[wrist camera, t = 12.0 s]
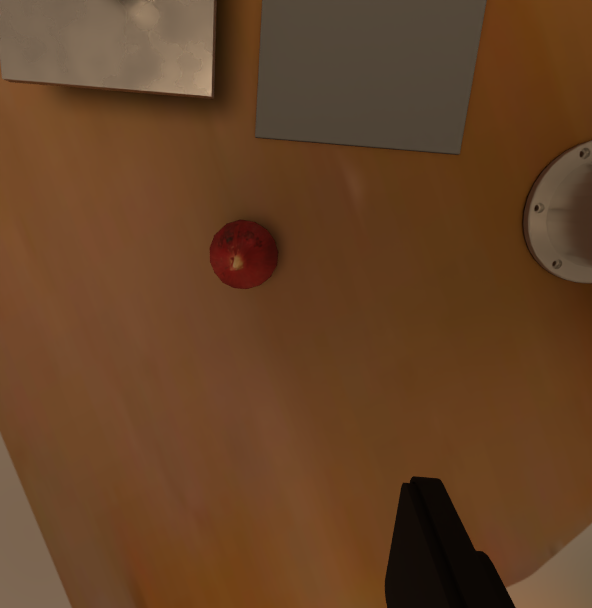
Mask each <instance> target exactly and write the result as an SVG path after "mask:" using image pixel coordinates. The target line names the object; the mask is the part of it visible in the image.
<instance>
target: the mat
mask: <svg viewBox="0 0 592 608" xmlns="http://www.w3.org/2000/svg"><path fill="white" fill-rule="evenodd" d="M485 6H486V0H262V17H261V36H260V55H259V74H258V93H257V112H256V132H255V137H256V138H267V139H279V140H291V141H303V142H315V143H326V144H338V145H350V146H362V147H374V148H386V149H398V150H410V151H421V152H433V153H445V154H457V155H458V154H460V149H461V143H462V137H463V132H464V126H465V120H466V115H467V109H468V103H469V97H470V92H471V86H472V80H473V75H474V69H475V63H476V58H477V52H478V46H479V40H480V35H481V29H482V23H483V18H484V12H485Z"/></svg>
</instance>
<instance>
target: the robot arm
mask: <svg viewBox="0 0 592 608" xmlns="http://www.w3.org/2000/svg"><path fill="white" fill-rule="evenodd" d="M535 206H536V210H534V207H535ZM523 227H524V236H525V240H526V243H527V246H528V249H529V250H530V252H531V254H532V255H533V257H534V259H535V260H536V261H537V262H538V263H539V264H540V265H541V266H542V267H543V268H544V269H545V270H547V271H548V272H550V273H551V274H553V275H555V276H557V277H560V278H562V279H565V280H569V281H573V282H579V283H592V140H591V141H588V142H585V143H582V144H579V145H577V146H575V147H573V148H571V149H569V150H567V151H565V152H564V153H562V154H561V155H560V156H558V157H557V158H556V159H554V160H553V161H552V162H551V163H550V164H549V165H548V166H547V167H546V168H545V169H544V170H543V172H542V173H541V174H540V176H539V177H538V179H537V180H536V182H535V183H534V185H533V187H532V189H531V191H530V194H529V196H528V198H527V202H526V206H525V210H524V220H523ZM553 262H554V263H553ZM552 263H553V265H552ZM385 597H386V603H387V608H515V606H514V604H513V602H512V600H511V598H510V596H509V594H508V592H507V590H506V588H505V586H504V584H503V582H502V580H501V578H500V577H499V575H498V573H497V571H496V569H495V567H494V565H493V563H492V562H491V560H490V558H489V557H488V555H486V554H485V553H484V552H482V551H475V549H474V547H473V545H472V543H471V540H470V538H469V536H468V534H467V532H466V530H465V528H464V526H463V524H462V522H461V520H460V518H459V516H458V514H457V512H456V510H455V508H454V506H453V503H452V501H451V499H450V497H449V495H448V493H447V491H446V489H445V487H444V485H443V483H442V481H441V480H440V479H438V478H426V477H415V476H414V477H412V478H411V480H410V483H403V484H402V487H401V492H400V498H399V504H398V509H397V515H396V521H395V526H394V532H393V538H392V543H391V549H390V555H389V561H388V566H387V572H386V578H385Z"/></svg>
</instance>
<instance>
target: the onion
mask: <svg viewBox="0 0 592 608" xmlns="http://www.w3.org/2000/svg"><path fill="white" fill-rule="evenodd" d="M277 259H278V250H277V247H276V244H275V241H274V239H273V238H272V236H271V235H270V233H269V232H268V231H267V229H265V228H264V227H262V226H260V225H259V224H257V223H255V222H251V221H245V220H238V221H235V222H231V223H228V224H226V225H225V226H224V227H223V228H222V229H221V230H220V231H219V232H218V233H216V234H215V235H214V238H213V241H212V243H211V246H210V263H211V265H212V267H213V270H214V272H215V274H216V275H217V276H218V277H219V278H220V280H221V281H222V282H223V283H225V284H227V285H229V286H231V287H233V288H240V289H248V288H252V287H255V286H258V285H261V284H262V283H263V282H265V281H266V280H267V279H268V278H270V277H271V275H272V273H273V271H274V269H275V268H276V266H277Z"/></svg>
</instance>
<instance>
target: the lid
mask: <svg viewBox="0 0 592 608" xmlns="http://www.w3.org/2000/svg"><path fill="white" fill-rule="evenodd" d="M216 7H217V0H0V61H1V71H2V79H4V80H6V81H9V82H15V83H27V84H39V85H50V86H62V87H74V88H86V89H98V90H110V91H122V92H134V93H146V94H158V95H170V96H182V97H194V98H206V99H214V81H215V44H216Z"/></svg>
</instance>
